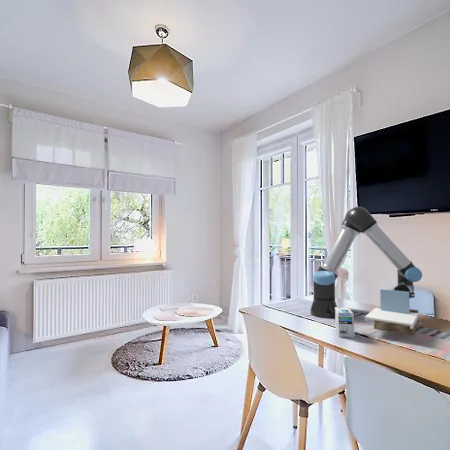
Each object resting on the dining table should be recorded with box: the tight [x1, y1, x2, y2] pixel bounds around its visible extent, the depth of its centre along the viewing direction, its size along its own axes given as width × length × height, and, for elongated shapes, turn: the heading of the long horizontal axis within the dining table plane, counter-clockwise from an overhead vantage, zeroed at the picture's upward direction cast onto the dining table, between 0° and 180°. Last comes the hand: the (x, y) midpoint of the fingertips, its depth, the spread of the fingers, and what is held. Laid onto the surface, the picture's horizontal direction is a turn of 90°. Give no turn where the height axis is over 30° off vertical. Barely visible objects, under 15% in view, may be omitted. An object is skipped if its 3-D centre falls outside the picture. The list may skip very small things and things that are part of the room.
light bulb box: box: [334, 306, 355, 339], centre depth 140 cm, size 11×7×11 cm, turn 168°
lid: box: [364, 288, 419, 329], centre depth 141 cm, size 18×21×12 cm
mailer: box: [373, 308, 420, 336], centre depth 150 cm, size 16×20×7 cm
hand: (394, 298), depth 147 cm, fingers closed
